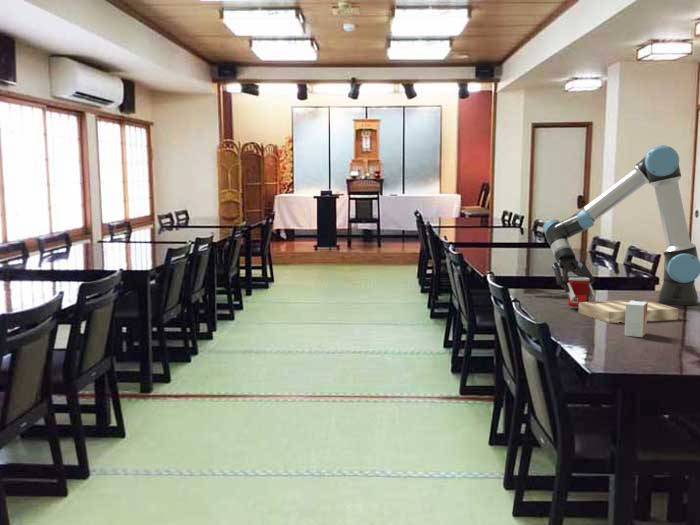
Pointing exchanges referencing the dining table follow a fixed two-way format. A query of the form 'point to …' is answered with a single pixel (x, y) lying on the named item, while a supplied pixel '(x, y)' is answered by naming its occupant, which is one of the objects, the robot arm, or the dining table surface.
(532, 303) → the dining table surface
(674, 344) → the dining table surface
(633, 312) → the small box
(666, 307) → the maple plank
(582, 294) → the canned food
